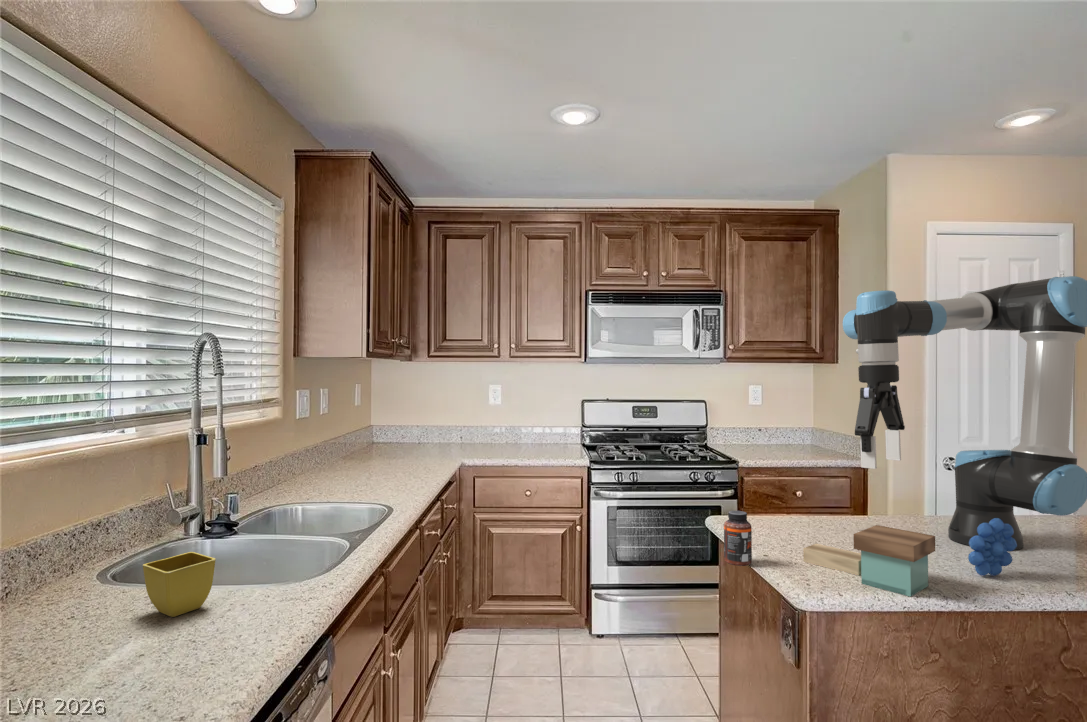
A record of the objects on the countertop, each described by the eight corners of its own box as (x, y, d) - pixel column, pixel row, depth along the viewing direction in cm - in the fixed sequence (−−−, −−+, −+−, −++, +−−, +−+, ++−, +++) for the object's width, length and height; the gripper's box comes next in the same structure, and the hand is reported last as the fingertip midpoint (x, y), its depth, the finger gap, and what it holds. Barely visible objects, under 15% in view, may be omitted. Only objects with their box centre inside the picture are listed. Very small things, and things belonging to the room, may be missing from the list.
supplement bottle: (753, 567, 130) (753, 516, 131) (725, 566, 131) (725, 514, 132) (749, 559, 136) (749, 509, 136) (722, 557, 137) (722, 508, 138)
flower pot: (165, 624, 102) (166, 572, 102) (141, 614, 107) (141, 563, 107) (216, 607, 110) (217, 558, 110) (191, 598, 114) (191, 551, 114)
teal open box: (880, 574, 126) (879, 540, 126) (928, 585, 119) (927, 550, 119) (861, 583, 120) (861, 549, 120) (910, 596, 113) (910, 559, 113)
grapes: (995, 567, 130) (994, 512, 130) (1026, 577, 124) (1025, 519, 124) (951, 571, 127) (950, 515, 128) (981, 582, 121) (980, 522, 121)
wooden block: (816, 556, 138) (816, 543, 138) (871, 569, 129) (870, 555, 129) (803, 561, 134) (803, 548, 134) (858, 575, 125) (858, 561, 125)
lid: (876, 539, 127) (876, 524, 127) (935, 550, 119) (935, 535, 119) (853, 548, 121) (853, 533, 121) (914, 562, 112) (913, 546, 112)
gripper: (881, 363, 138) (884, 455, 137) (834, 365, 121) (838, 469, 121) (918, 362, 132) (921, 458, 132) (874, 364, 116) (877, 473, 115)
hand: (881, 463), depth 126 cm, fingers open, 13 cm apart
